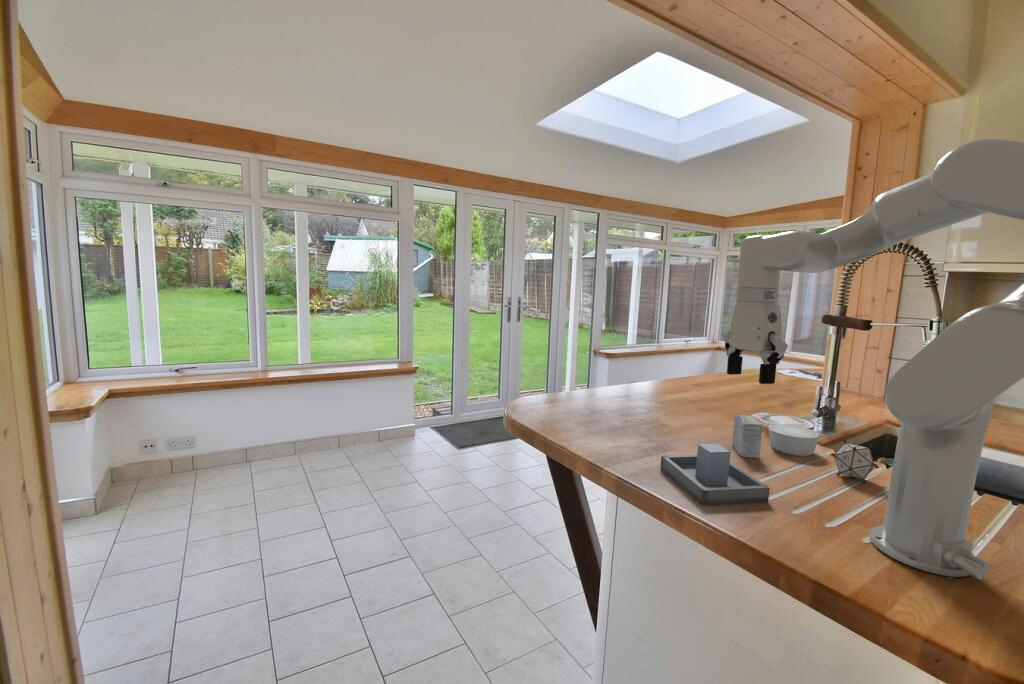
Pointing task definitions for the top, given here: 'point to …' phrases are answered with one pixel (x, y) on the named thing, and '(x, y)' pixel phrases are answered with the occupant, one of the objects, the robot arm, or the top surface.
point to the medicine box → (747, 436)
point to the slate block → (712, 464)
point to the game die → (854, 460)
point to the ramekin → (793, 439)
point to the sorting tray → (734, 492)
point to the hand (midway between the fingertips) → (749, 378)
